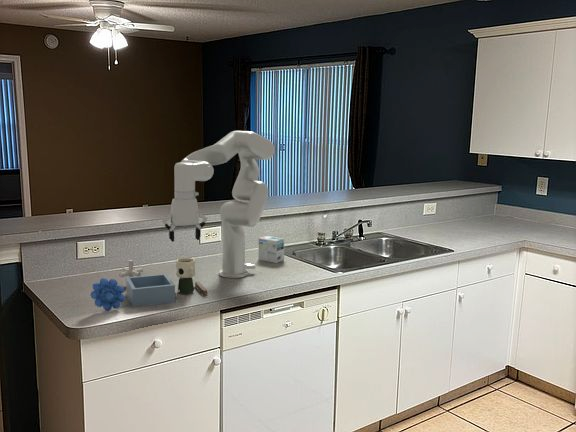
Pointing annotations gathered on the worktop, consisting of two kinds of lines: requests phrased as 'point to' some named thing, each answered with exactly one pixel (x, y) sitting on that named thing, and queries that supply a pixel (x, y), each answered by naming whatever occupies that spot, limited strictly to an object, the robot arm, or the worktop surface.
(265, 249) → the light bulb box
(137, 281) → the bin
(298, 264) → the worktop surface
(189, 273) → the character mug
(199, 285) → the seat rails
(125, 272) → the pipe connector
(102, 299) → the blue flower
